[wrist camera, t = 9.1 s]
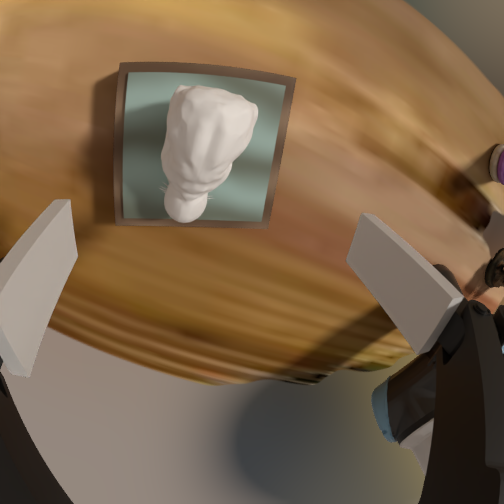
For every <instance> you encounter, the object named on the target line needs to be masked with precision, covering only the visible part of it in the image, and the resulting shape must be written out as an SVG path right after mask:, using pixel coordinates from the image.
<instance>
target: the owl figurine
mask: <svg viewBox="0 0 504 504" xmlns="http://www.w3.org/2000/svg"><path fill="white" fill-rule="evenodd" d="M503 267H504V248H502V249H500V250H499V251H498V253H496V255H495V257H494V258H493V260H492V262H491V263H490V264H489V266H488V267H487V270H486V272H485V280H486V281H485V282H486V284H487V285H488V286H489V287H498V288H499V287H500V286H503V287H504V270H503ZM488 281H489V282H488Z"/></svg>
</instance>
